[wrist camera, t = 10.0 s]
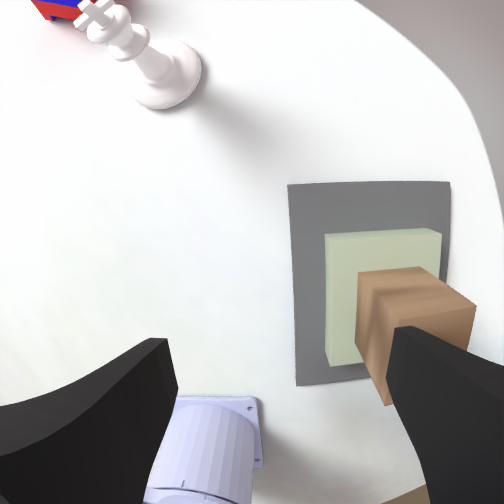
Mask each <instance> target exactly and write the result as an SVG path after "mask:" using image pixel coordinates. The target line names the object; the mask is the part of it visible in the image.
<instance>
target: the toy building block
mask: <svg viewBox="0 0 504 504" xmlns="http://www.w3.org/2000/svg"><path fill="white" fill-rule="evenodd" d="M31 1H32V2H33V4H34V5H35V6H36V8H37V9H38V10H39V12H40V13H41V14H42V15H43V17H44V18H45V19H46V20H51V21H54V19H55V17H56V16H57V17H61V18H66V19H71V20H76V19H77V18H78V17H80V16H81V15H82V14H83V12H82V11H81V10H80V8H79V7H78V6H77V5H78V4H80V3H81V2H82V1H83V0H31ZM90 1H91V2H92V3H93V4H95V2H96V1H97V0H90Z"/></svg>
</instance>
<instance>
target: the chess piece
mask: <svg viewBox="0 0 504 504" xmlns="http://www.w3.org/2000/svg"><path fill="white" fill-rule="evenodd" d="M115 4H116V3H115V2H114V0H99V1H97V2H96V3H95V4H93V3H92V2H91V1H90V0H83V1H82V2H81V3H80V4H78V5H77V6H78V7H79V8H80V10H81V11H82V12H83V14H82V15H81V16H80V17H78V18H77V19H76V20H75V21H74V22H73V23H74V25H75V26H76V28H77V29H79V30H80V31H83V30H84V29H85V28H86V27H88V28H87V36H88V39H89V40H90V41H91V42H93V43H95V44H99V45H109V51H110V54H111V56H112V57H113V58H114V59H115V60H117V61H120V62H126V61H130V60H132V61H131V63H130V65H129V67H128V70H127V75H126V84H127V88H128V91H129V93H130V95H131V96H132V97H133V98H134V99H135V100H136V101H137V102H138V103H139V104H140V105H142V106H144V107H146V108H149V109H157V110H159V109H167V108H170V107H173V106H175V105H177V104H179V103H181V102H182V101H184V100H185V99H186V98H187V97H189V96H190V95H191V93H192V92H193V91H194V90H195V88H196V86H197V85H198V82H199V80H200V77H201V71H202V66H201V61H200V58H199V56H198V54H197V53H196V51H195V50H194V49H193V48H192V47H190V46H189V45H188V44H186V43H185V42H183V41H180V40H176V39H162V40H158V41H155V42H153V43H150V44H149V41H150V33H149V31H148V29H147V28H146V27H145V26H143V25H140V24H131V17H130V13H129V11H128V9H127V8H126V7H124V6H122V5H115Z"/></svg>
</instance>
